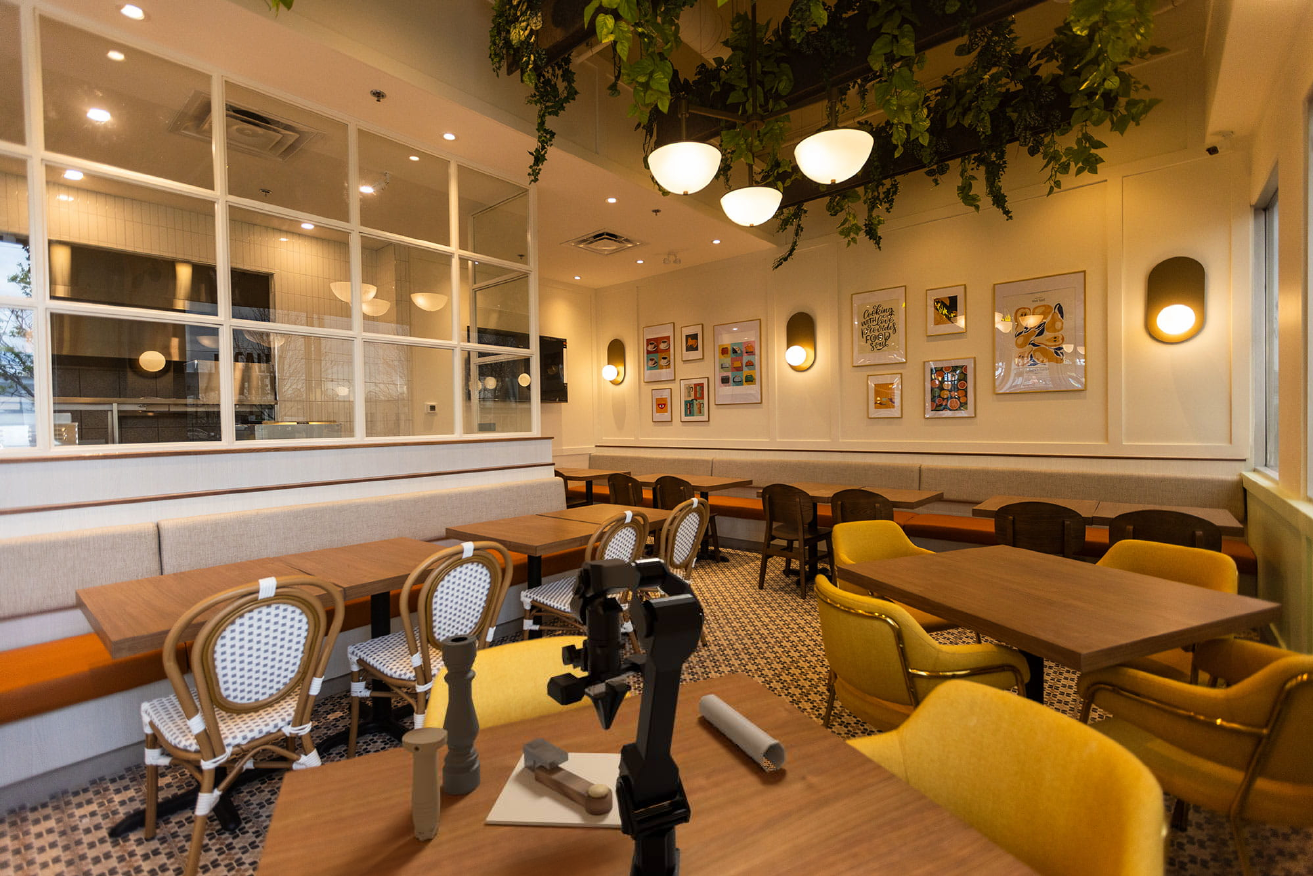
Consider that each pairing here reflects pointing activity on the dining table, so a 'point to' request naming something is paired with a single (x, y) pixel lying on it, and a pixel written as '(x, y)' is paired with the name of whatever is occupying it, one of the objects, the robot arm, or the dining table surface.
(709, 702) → the tube
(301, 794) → the dining table surface
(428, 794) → the handle
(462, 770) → the candle holder
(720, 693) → the dining table surface
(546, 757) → the block
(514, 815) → the pivot plate
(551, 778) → the link
